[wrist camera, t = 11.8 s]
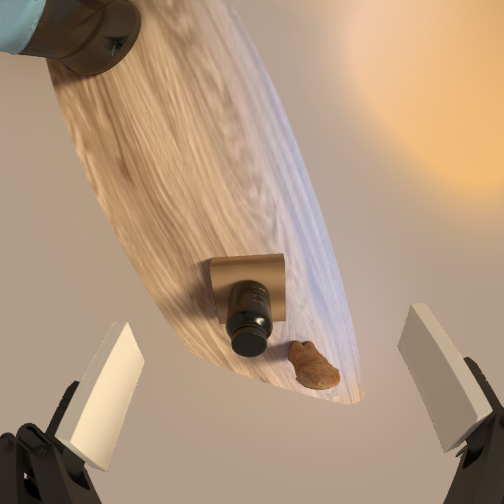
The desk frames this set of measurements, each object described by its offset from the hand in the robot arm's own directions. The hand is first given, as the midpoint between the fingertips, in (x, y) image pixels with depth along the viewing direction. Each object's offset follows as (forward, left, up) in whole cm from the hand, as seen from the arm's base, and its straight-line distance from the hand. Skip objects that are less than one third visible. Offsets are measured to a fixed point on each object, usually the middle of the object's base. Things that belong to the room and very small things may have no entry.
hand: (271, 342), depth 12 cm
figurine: (+33, +8, -33) cm, 47 cm away
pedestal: (+18, -3, -33) cm, 37 cm away
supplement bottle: (+18, -3, -30) cm, 35 cm away
